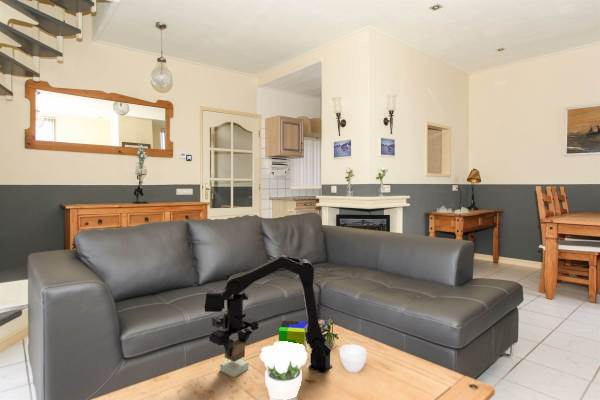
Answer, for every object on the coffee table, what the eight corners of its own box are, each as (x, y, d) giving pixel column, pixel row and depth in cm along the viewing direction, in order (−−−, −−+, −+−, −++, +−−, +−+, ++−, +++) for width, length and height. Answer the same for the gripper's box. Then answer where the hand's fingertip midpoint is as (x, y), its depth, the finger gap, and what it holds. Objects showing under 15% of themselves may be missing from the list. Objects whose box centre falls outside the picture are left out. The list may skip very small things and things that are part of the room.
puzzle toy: (306, 345, 151) (306, 322, 150) (303, 357, 141) (304, 332, 141) (282, 344, 152) (282, 320, 151) (278, 355, 142) (278, 330, 142)
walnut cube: (244, 356, 131) (244, 342, 131) (234, 361, 127) (234, 347, 127) (235, 352, 134) (235, 339, 134) (224, 357, 130) (224, 343, 130)
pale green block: (248, 369, 131) (248, 362, 131) (233, 377, 126) (233, 370, 126) (234, 362, 136) (234, 356, 135) (220, 370, 130) (220, 363, 130)
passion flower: (316, 352, 157) (314, 323, 163) (341, 349, 155) (338, 320, 162) (312, 347, 147) (309, 317, 154) (338, 344, 146) (335, 314, 152)
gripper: (238, 299, 142) (238, 339, 143) (199, 313, 127) (198, 357, 128) (259, 306, 135) (259, 347, 136) (220, 321, 120) (220, 367, 121)
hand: (234, 354), depth 130 cm, fingers closed on walnut cube, 5 cm apart
